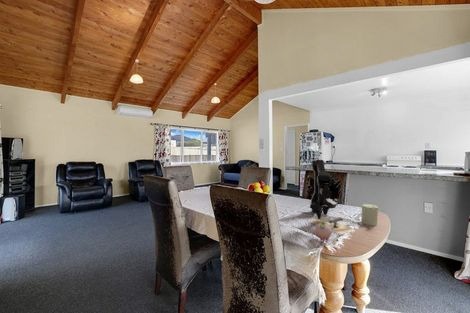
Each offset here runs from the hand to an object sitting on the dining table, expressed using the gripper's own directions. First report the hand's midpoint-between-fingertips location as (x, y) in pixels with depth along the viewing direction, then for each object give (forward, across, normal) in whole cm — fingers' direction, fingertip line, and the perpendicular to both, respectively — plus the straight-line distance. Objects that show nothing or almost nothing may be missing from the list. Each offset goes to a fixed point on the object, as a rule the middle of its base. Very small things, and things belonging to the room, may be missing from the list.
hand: (322, 217), depth 141 cm
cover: (+1, 0, 0) cm, 1 cm away
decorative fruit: (+5, -19, -13) cm, 23 cm away
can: (+5, +29, -16) cm, 34 cm away
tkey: (+3, 0, -9) cm, 9 cm away
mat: (+5, -13, +4) cm, 14 cm away
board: (+5, 0, -6) cm, 7 cm away
